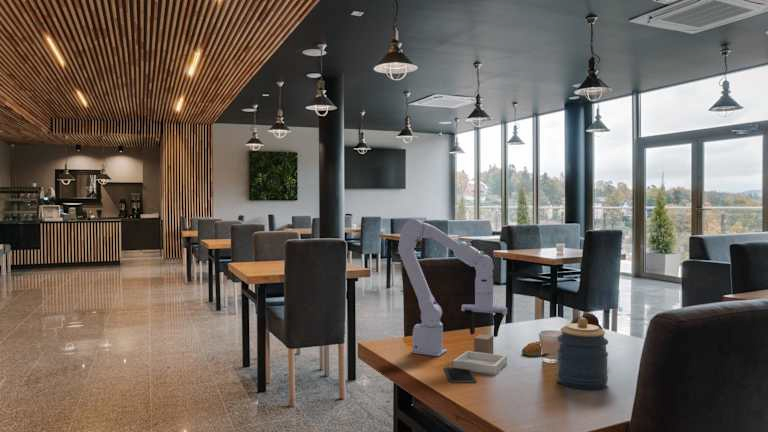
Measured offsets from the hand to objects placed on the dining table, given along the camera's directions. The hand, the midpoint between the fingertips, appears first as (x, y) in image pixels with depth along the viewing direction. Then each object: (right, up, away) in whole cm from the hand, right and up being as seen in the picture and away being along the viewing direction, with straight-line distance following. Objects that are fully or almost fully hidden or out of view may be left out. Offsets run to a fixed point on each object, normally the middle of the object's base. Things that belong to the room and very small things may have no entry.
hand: (484, 335), depth 177 cm
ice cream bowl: (+30, -7, -7) cm, 32 cm away
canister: (+21, -7, -28) cm, 36 cm away
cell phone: (-11, -7, -22) cm, 25 cm away
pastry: (+17, -7, +2) cm, 19 cm away
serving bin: (-3, -7, -13) cm, 15 cm away
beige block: (0, -7, 0) cm, 7 cm away
